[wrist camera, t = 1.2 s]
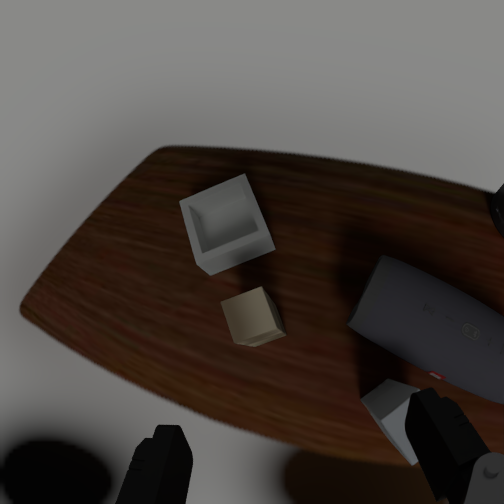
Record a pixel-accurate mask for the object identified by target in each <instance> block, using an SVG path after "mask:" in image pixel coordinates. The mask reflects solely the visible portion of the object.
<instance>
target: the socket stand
mask: <svg viewBox="0 0 504 504" xmlns="http://www.w3.org/2000/svg"><path fill="white" fill-rule="evenodd" d="M179 202H180V206H181V210H182V213H183V217H184V221H185V224H186V228H187V232H188V235H189V239H190V243H191V246H192V250H193V253H194V257H195V260H196V264H197V265H198V266H199V267H200V268H202V269H203V270H204V271H205V272H207V273H208V274H209V275H213V274H215V273H218V272H221V271H223V270H226V269H228V268H231V267H233V266H236V265H238V264H241V263H243V262H246V261H248V260H251V259H253V258H256V257H258V256H261V255H263V254H266V253H268V252H271V251H273V250H276V249H275V246H274V243H273V241H272V238H271V236H270V233H269V231H268V228H267V226H266V223H265V221H264V218H263V216H262V214H261V211H260V209H259V206H258V204H257V201H256V199H255V197H254V194H253V192H252V189H251V187H250V185H249V182H248V180H247V177H246V175H245V174H242V175H240V176H237V177H235V178H233V179H230V180H228V181H225V182H223V183H221V184H218V185H216V186H213V187H211V188H209V189H206V190H204V191H202V192H200V193H197V194H195V195H193V196H190V197H188V198H186V199H184V200H182V201H179Z"/></svg>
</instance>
